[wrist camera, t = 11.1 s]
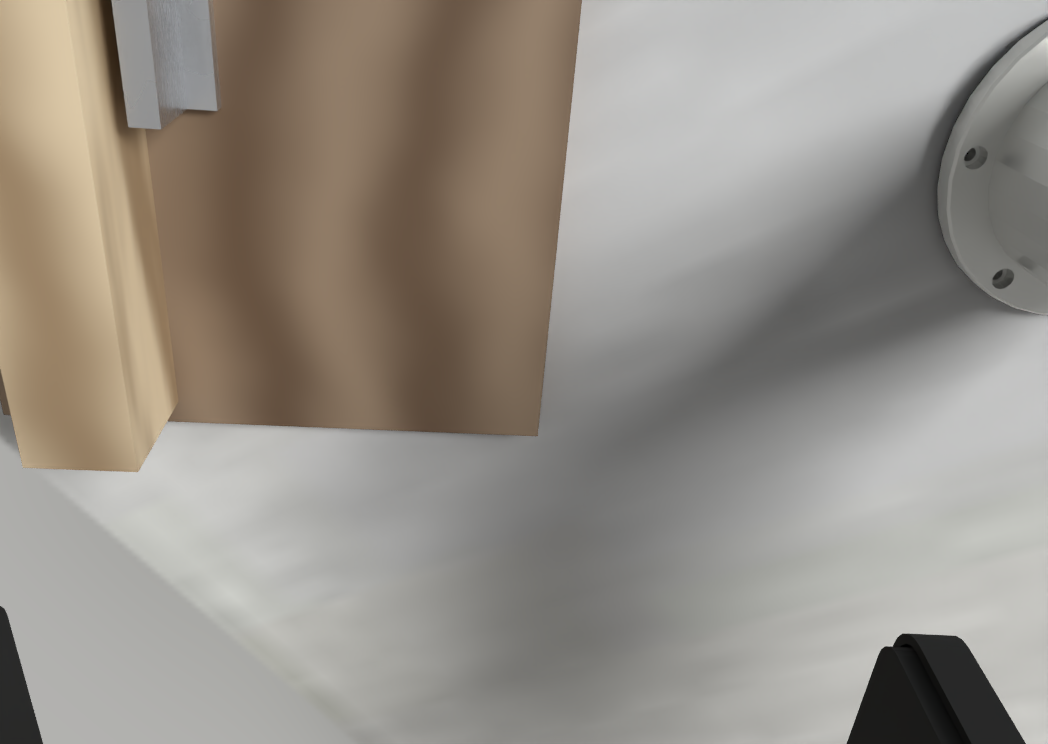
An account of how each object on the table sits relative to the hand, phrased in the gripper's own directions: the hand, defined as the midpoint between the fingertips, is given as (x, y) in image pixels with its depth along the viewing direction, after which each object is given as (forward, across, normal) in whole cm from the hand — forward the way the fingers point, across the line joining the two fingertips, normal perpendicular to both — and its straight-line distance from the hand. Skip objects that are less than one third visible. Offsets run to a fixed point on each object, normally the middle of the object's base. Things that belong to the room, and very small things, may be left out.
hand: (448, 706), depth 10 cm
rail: (+25, +14, +3) cm, 29 cm away
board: (+26, +8, +1) cm, 28 cm away
